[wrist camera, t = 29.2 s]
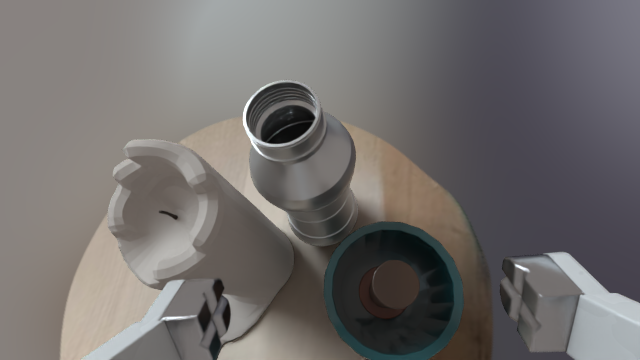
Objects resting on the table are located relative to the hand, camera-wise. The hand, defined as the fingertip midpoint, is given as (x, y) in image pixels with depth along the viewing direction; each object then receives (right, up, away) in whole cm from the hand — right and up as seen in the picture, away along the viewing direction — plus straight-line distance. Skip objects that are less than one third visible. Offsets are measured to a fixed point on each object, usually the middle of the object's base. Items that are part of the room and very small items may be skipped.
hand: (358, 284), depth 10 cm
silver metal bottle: (-1, -1, +24) cm, 24 cm away
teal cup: (+5, -7, +21) cm, 23 cm away
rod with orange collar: (+4, -7, +20) cm, 22 cm away
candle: (-9, -8, +23) cm, 26 cm away
